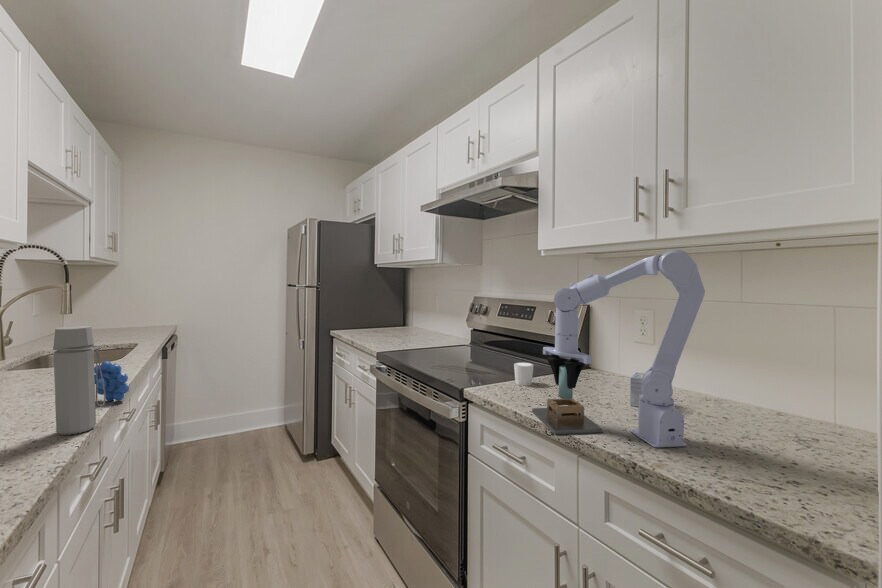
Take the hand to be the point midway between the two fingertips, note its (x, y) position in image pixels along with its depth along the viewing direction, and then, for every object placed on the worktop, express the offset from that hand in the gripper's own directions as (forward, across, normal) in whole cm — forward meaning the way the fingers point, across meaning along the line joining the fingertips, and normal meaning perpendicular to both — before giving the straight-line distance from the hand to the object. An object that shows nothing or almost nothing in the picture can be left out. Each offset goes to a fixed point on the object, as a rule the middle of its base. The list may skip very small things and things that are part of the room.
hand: (565, 386), depth 103 cm
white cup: (+10, +33, -16) cm, 38 cm away
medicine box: (+10, -1, -31) cm, 33 cm away
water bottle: (+10, +56, +106) cm, 120 cm away
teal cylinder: (+3, 0, 0) cm, 3 cm away
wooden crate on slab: (+9, 0, 0) cm, 9 cm away
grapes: (+10, +80, +105) cm, 132 cm away
